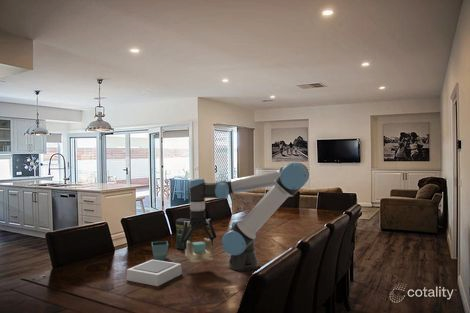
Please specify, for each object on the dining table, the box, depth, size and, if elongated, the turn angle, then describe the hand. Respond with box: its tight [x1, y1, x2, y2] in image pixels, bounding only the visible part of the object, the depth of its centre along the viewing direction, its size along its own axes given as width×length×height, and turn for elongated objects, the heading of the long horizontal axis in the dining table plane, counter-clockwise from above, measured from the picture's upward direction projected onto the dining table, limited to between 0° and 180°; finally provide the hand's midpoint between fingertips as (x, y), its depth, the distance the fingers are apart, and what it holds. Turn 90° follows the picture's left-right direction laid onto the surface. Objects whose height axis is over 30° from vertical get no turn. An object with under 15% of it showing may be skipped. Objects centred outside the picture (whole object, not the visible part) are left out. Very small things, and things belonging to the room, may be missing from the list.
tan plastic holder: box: [184, 237, 214, 264], centre depth 178 cm, size 11×12×8 cm
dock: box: [126, 259, 183, 287], centre depth 170 cm, size 18×18×5 cm
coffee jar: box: [175, 217, 193, 250], centre depth 224 cm, size 10×8×19 cm
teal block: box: [192, 241, 205, 253], centre depth 178 cm, size 6×6×4 cm
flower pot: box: [151, 240, 169, 261], centre depth 200 cm, size 9×9×9 cm
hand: (198, 253), depth 178 cm, fingers closed on tan plastic holder, 11 cm apart
